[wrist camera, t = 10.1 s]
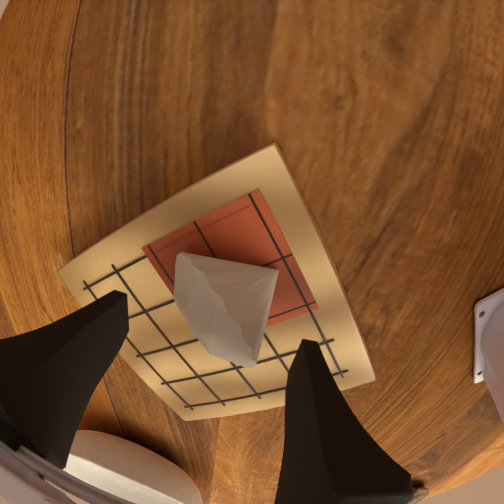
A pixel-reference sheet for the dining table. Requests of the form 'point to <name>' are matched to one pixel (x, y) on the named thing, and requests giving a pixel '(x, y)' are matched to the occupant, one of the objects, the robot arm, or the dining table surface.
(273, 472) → the dining table surface
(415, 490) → the rock
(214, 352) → the gemstone
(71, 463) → the serving bowl
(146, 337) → the board
